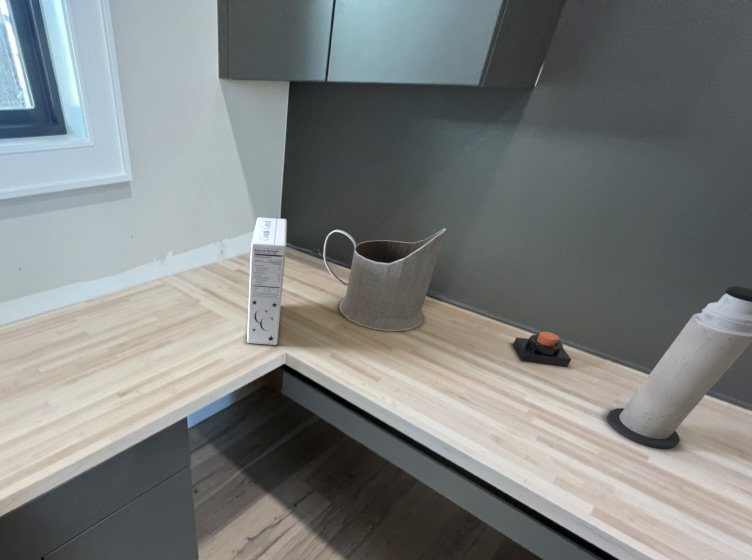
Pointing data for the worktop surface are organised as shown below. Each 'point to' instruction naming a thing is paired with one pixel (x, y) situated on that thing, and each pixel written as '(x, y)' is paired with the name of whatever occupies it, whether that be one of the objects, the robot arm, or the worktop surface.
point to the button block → (541, 352)
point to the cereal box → (266, 280)
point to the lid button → (547, 339)
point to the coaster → (647, 441)
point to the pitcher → (389, 281)
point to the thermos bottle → (692, 365)
